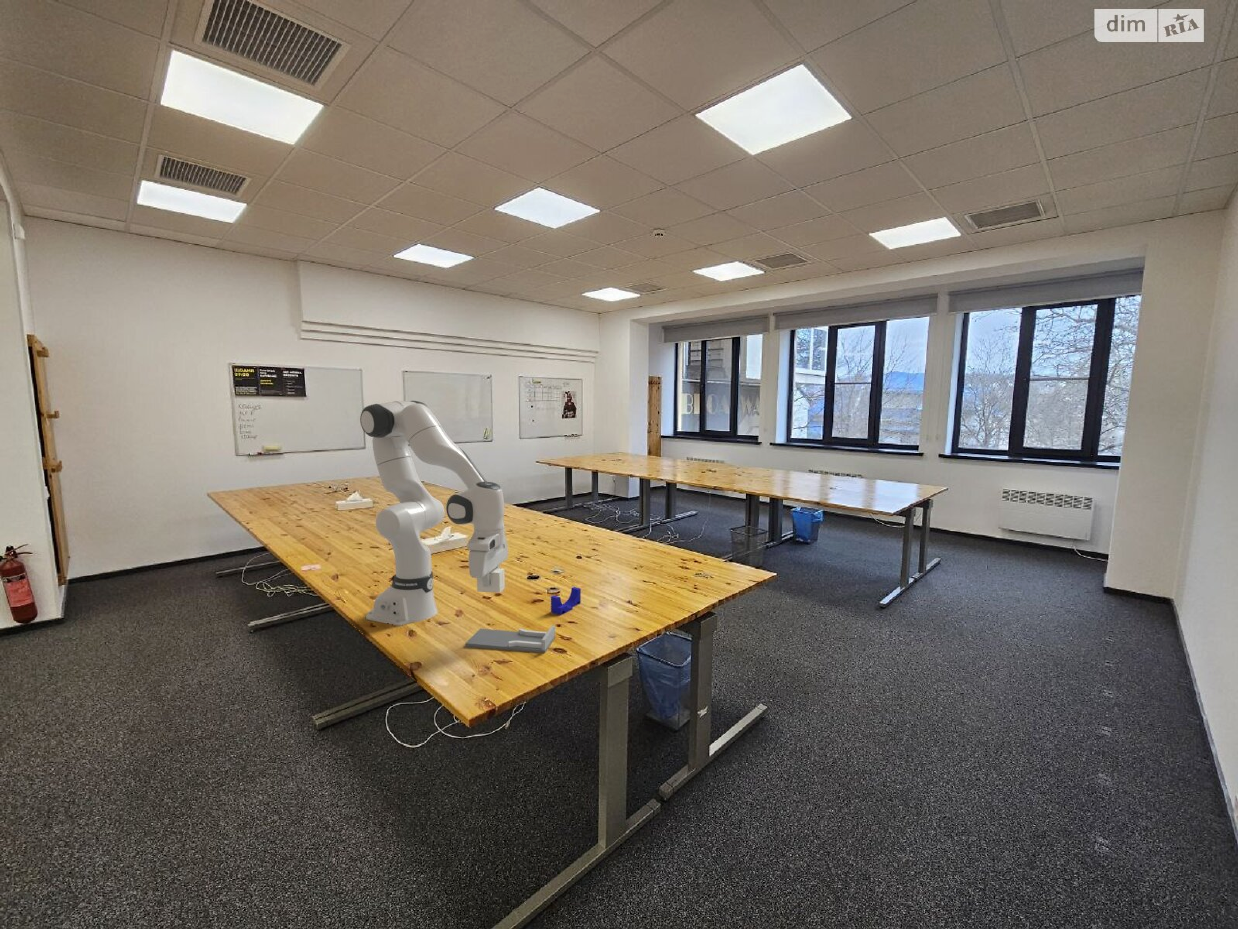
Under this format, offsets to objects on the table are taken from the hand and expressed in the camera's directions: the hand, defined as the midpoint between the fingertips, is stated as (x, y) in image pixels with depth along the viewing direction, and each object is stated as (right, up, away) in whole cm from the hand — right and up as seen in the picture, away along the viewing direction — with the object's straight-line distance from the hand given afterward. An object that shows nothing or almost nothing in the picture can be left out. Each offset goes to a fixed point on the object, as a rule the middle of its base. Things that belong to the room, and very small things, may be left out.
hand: (490, 583), depth 149 cm
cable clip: (+20, -16, +25) cm, 36 cm away
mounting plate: (+6, -18, 0) cm, 19 cm away
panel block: (0, -2, 0) cm, 2 cm away
